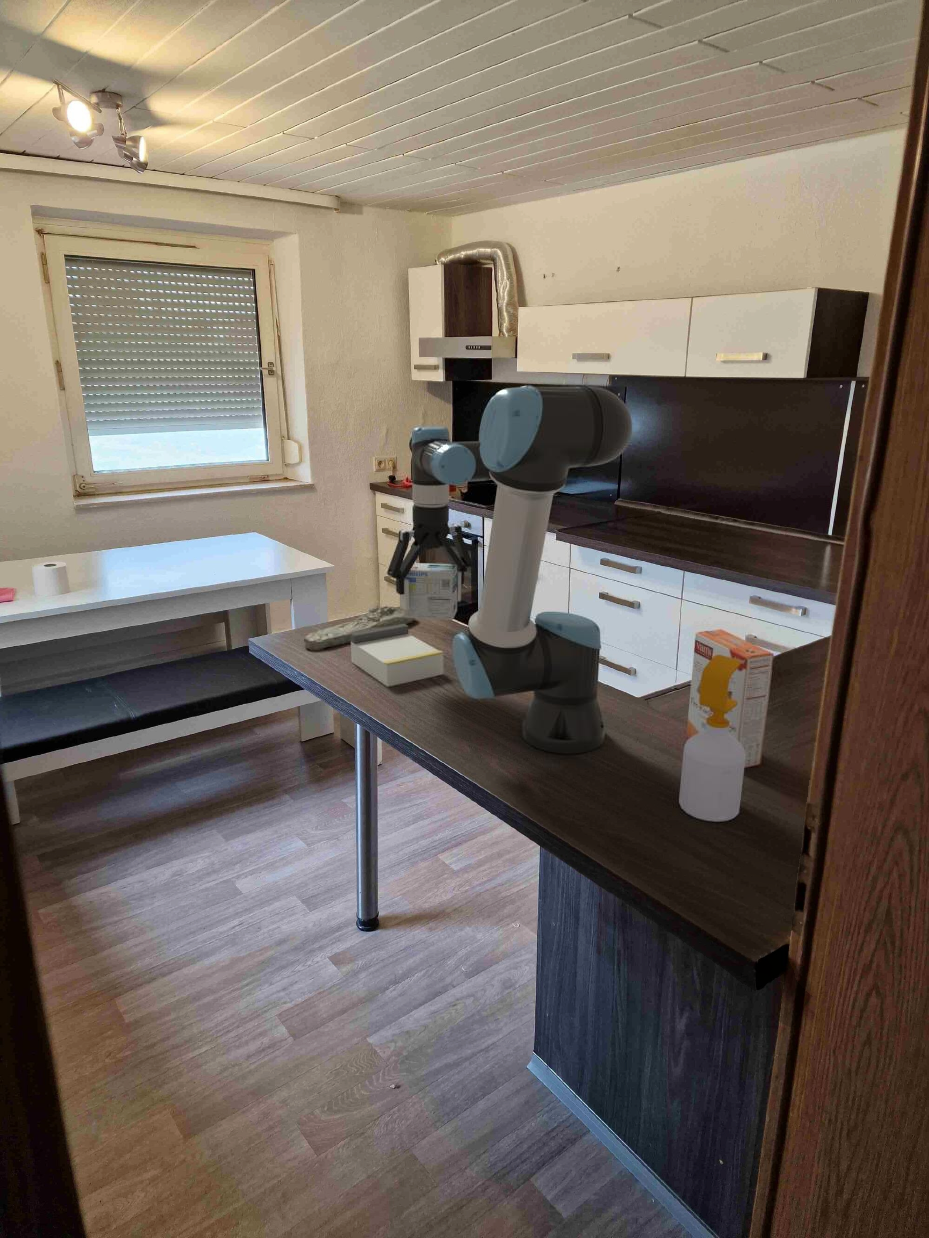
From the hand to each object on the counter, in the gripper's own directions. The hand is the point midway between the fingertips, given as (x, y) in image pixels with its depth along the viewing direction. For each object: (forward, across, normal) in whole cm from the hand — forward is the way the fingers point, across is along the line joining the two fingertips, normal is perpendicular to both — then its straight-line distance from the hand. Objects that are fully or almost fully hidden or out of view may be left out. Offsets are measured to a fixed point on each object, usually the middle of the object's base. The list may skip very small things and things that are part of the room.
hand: (430, 604), depth 173 cm
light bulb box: (+3, 0, 0) cm, 3 cm away
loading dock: (+17, +4, -9) cm, 20 cm away
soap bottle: (+16, -10, +70) cm, 73 cm away
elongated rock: (+18, 0, -36) cm, 41 cm away
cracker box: (+16, -27, +58) cm, 66 cm away
